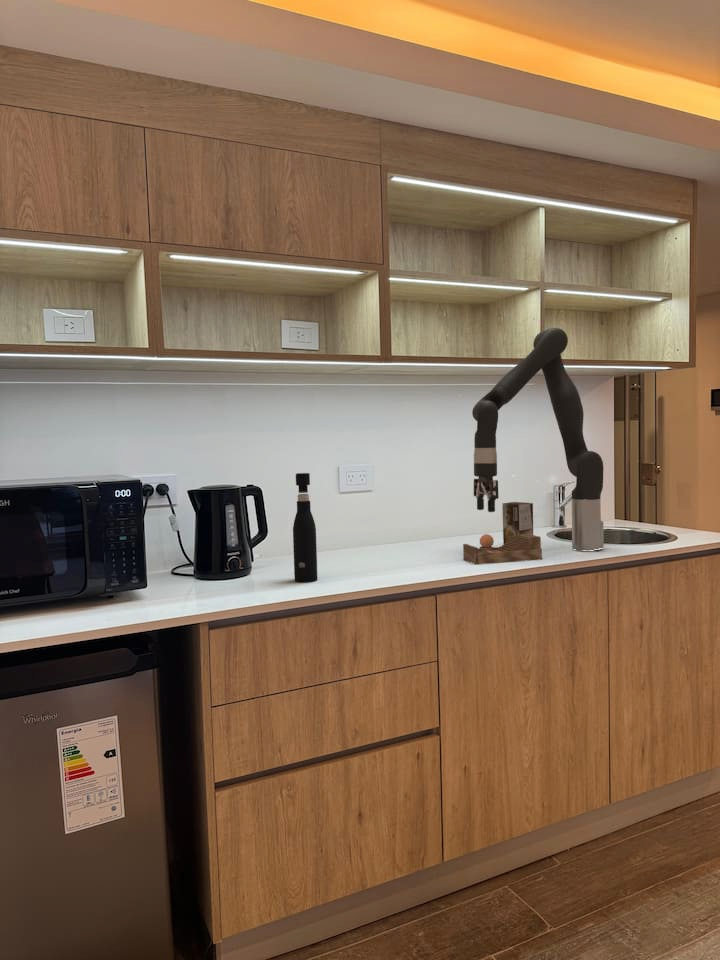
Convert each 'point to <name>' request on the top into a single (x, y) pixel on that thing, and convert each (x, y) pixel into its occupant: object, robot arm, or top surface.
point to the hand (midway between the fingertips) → (485, 510)
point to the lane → (506, 551)
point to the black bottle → (304, 535)
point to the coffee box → (517, 519)
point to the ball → (486, 541)
